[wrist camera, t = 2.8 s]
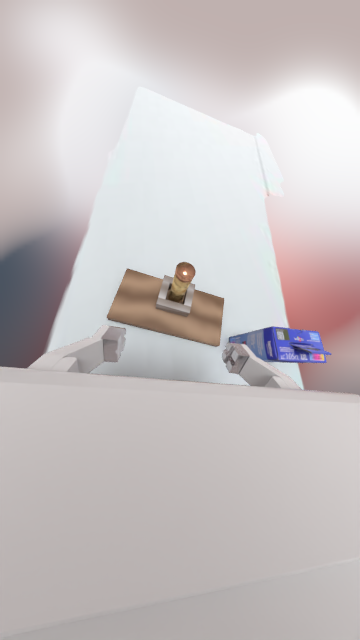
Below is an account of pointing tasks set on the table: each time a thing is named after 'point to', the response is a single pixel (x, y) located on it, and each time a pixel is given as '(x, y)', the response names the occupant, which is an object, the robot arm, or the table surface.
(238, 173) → the table surface
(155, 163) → the table surface
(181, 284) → the brass copper-topped peg
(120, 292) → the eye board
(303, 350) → the ink cartridge box
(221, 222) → the table surface
